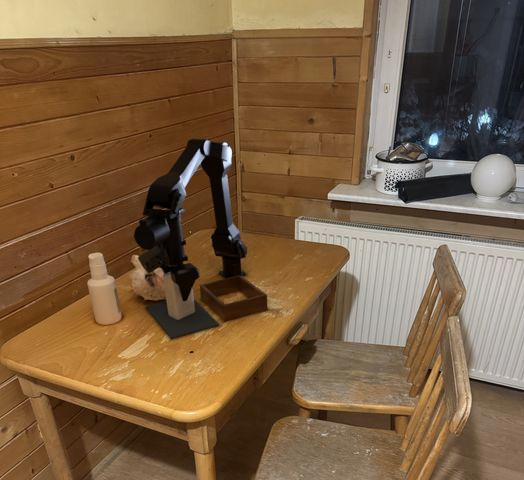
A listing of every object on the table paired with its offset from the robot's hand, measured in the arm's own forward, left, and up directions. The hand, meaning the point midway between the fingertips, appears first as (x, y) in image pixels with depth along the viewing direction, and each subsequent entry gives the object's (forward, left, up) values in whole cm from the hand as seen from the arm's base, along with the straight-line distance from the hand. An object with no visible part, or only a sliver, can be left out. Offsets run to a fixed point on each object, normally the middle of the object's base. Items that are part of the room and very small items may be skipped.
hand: (178, 294), depth 131 cm
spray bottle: (-9, -17, -7) cm, 20 cm away
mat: (0, 0, -7) cm, 7 cm away
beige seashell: (-19, -1, -7) cm, 20 cm away
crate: (+1, +15, -7) cm, 16 cm away
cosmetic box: (0, 0, -6) cm, 6 cm away
